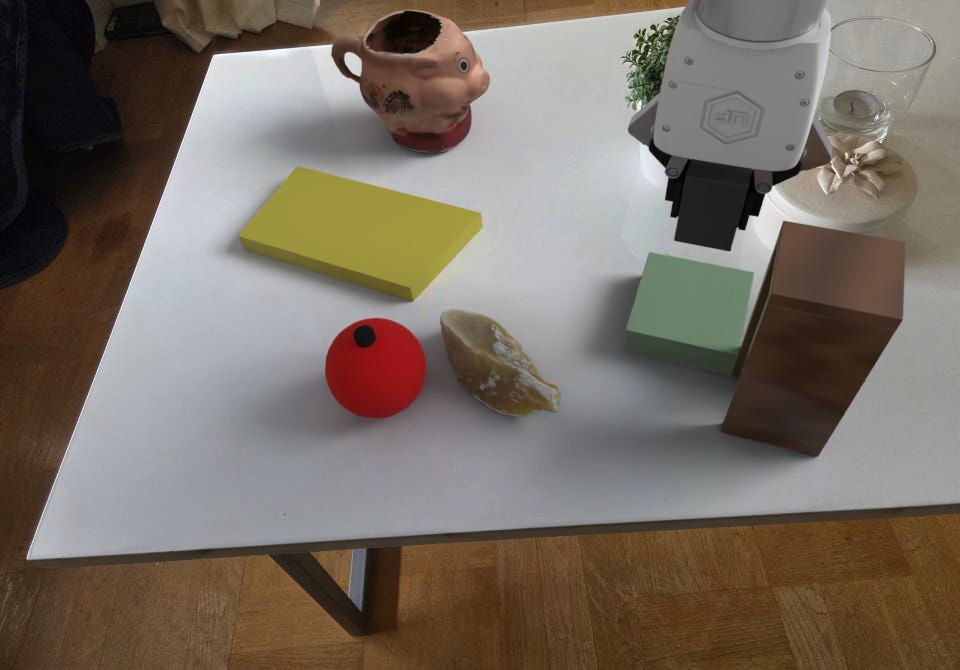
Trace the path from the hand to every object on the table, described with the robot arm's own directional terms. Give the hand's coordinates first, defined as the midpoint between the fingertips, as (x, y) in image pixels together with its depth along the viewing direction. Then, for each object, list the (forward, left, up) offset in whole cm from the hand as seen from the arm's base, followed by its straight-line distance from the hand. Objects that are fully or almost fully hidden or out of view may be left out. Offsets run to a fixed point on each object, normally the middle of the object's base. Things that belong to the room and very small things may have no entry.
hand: (710, 210), depth 59 cm
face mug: (+37, -21, -15) cm, 45 cm away
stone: (+15, +11, -15) cm, 24 cm away
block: (0, 0, -2) cm, 2 cm away
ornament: (+25, +16, -15) cm, 33 cm away
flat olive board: (+36, -2, -15) cm, 39 cm away
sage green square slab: (0, 0, -15) cm, 15 cm away
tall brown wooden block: (-9, +8, -15) cm, 19 cm away
